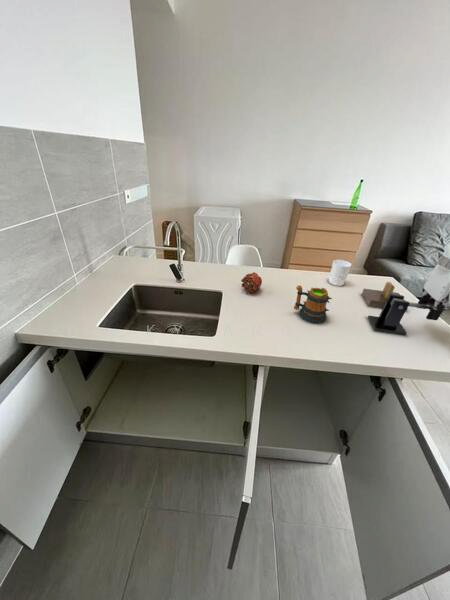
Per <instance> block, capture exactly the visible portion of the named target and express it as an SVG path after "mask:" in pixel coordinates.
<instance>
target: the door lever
mask: <svg viewBox="0 0 450 600" xmlns="http://www.w3.org/2000/svg"><path fill="white" fill-rule="evenodd" d="M394 300H400V301H403V300H402V299H399V298H393V299H392V301H391V303H390V304H391V305H392V303H393V301H394ZM409 303H410V304H409V306H408V308H416V309H421V308H425V309H424V310H428V311H430V310H431V308H434V306H432V305H431V304H429V303H428V302H427V301H424V302H423V304H418V302H417V303H416V302H409Z"/></svg>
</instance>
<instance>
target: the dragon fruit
mask: <svg viewBox="0 0 450 600" xmlns="http://www.w3.org/2000/svg"><path fill="white" fill-rule="evenodd" d="M240 281H241V282H242V283H241V288H244V289H245V291H247V292H249V293H255V292H256V291H260V290H261V286H262V283H263V280H262V277H261V276H259V274H258V273H257V272H252V273H247V274H245V275H244V276H243V278H241V280H240Z"/></svg>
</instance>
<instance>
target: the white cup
mask: <svg viewBox="0 0 450 600" xmlns="http://www.w3.org/2000/svg"><path fill="white" fill-rule="evenodd" d="M352 266H353V265H352V263H351V262H349V261H347V260H344V259H335V260H332V264H331V269H330V272H329V279H328V283H329V284H331V285H334V286H336V287H337V286H338V287H342V286H344V284H345V282H346V280H347V278H348V275H349V274H350V272H351V268H352Z"/></svg>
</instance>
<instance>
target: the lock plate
mask: <svg viewBox="0 0 450 600" xmlns="http://www.w3.org/2000/svg"><path fill="white" fill-rule="evenodd" d="M382 291H383V290H378V289H370V288H363V289H362V292H361V296H362V298H363V300H364V301H365V303H366V305H367V306H368V307H371V308H378V309H383V307H384V305H385V303H386V300H387V299H385V297H384V296H383V295H382ZM392 294H394V295H401V294H400V293H399V292H395V291H393V292H392ZM403 301H406V300H405V298H404V299H403Z"/></svg>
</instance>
